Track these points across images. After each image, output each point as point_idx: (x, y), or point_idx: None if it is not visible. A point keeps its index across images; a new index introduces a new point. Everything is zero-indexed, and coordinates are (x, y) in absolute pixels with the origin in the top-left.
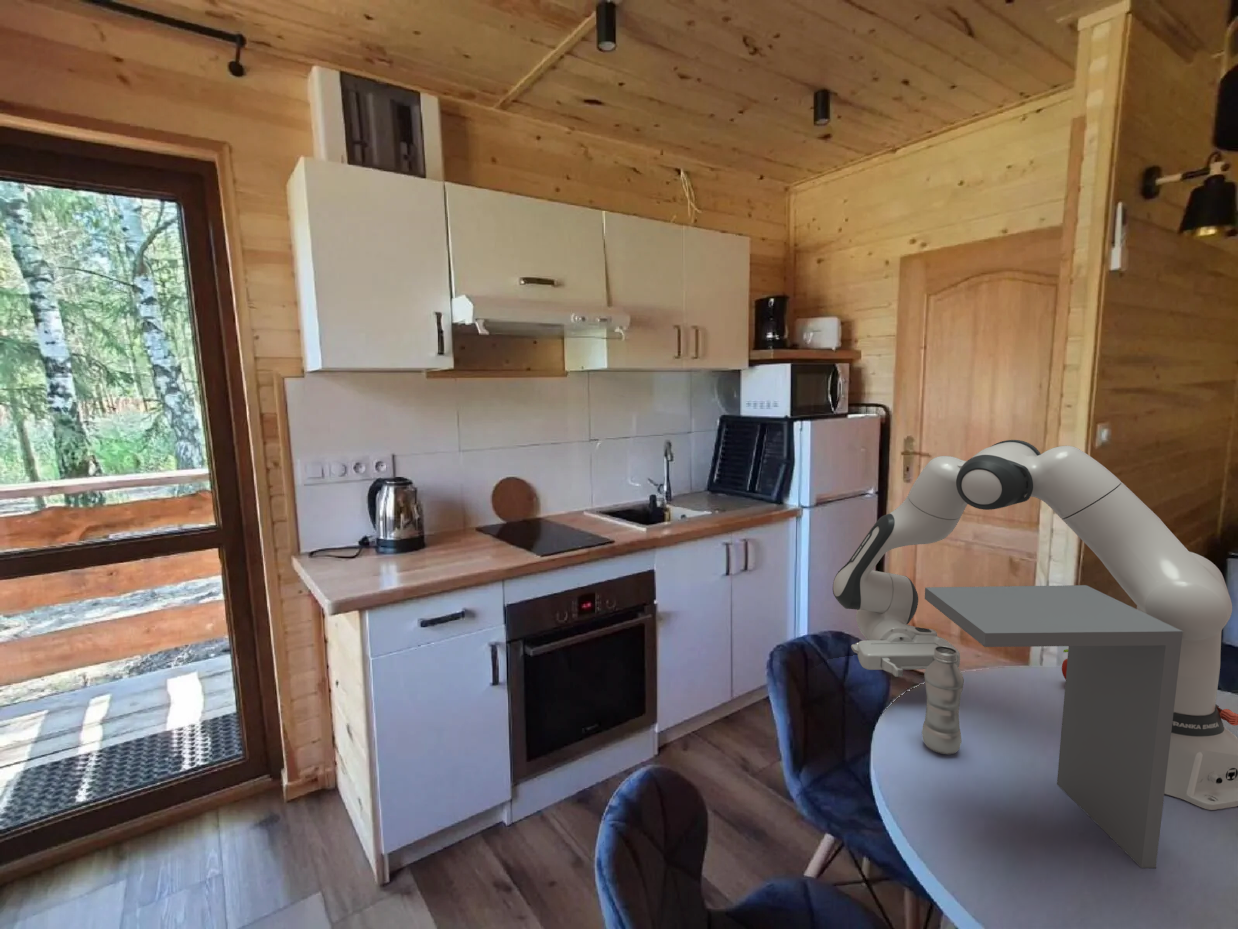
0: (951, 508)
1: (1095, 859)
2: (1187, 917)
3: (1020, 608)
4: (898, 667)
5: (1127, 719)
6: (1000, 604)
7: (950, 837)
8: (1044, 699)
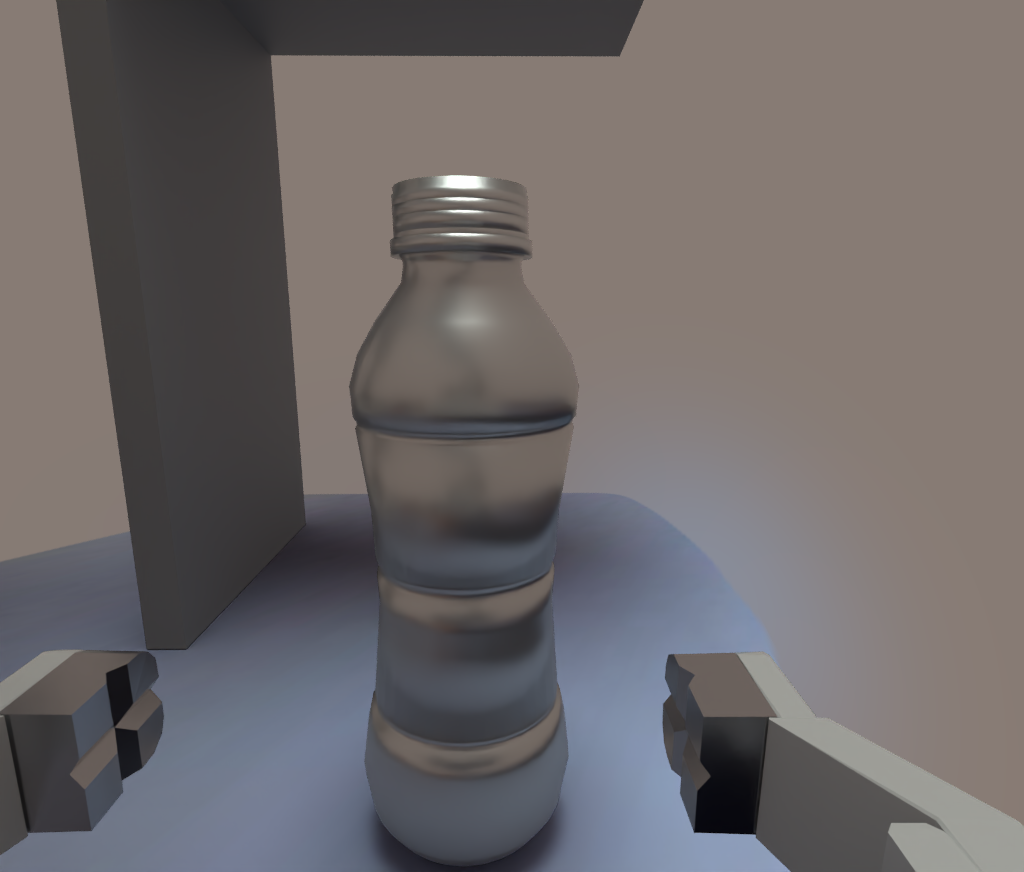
0: None
1: (366, 531)
2: (338, 495)
3: None
4: (724, 663)
5: (258, 259)
6: None
7: (617, 552)
8: None
